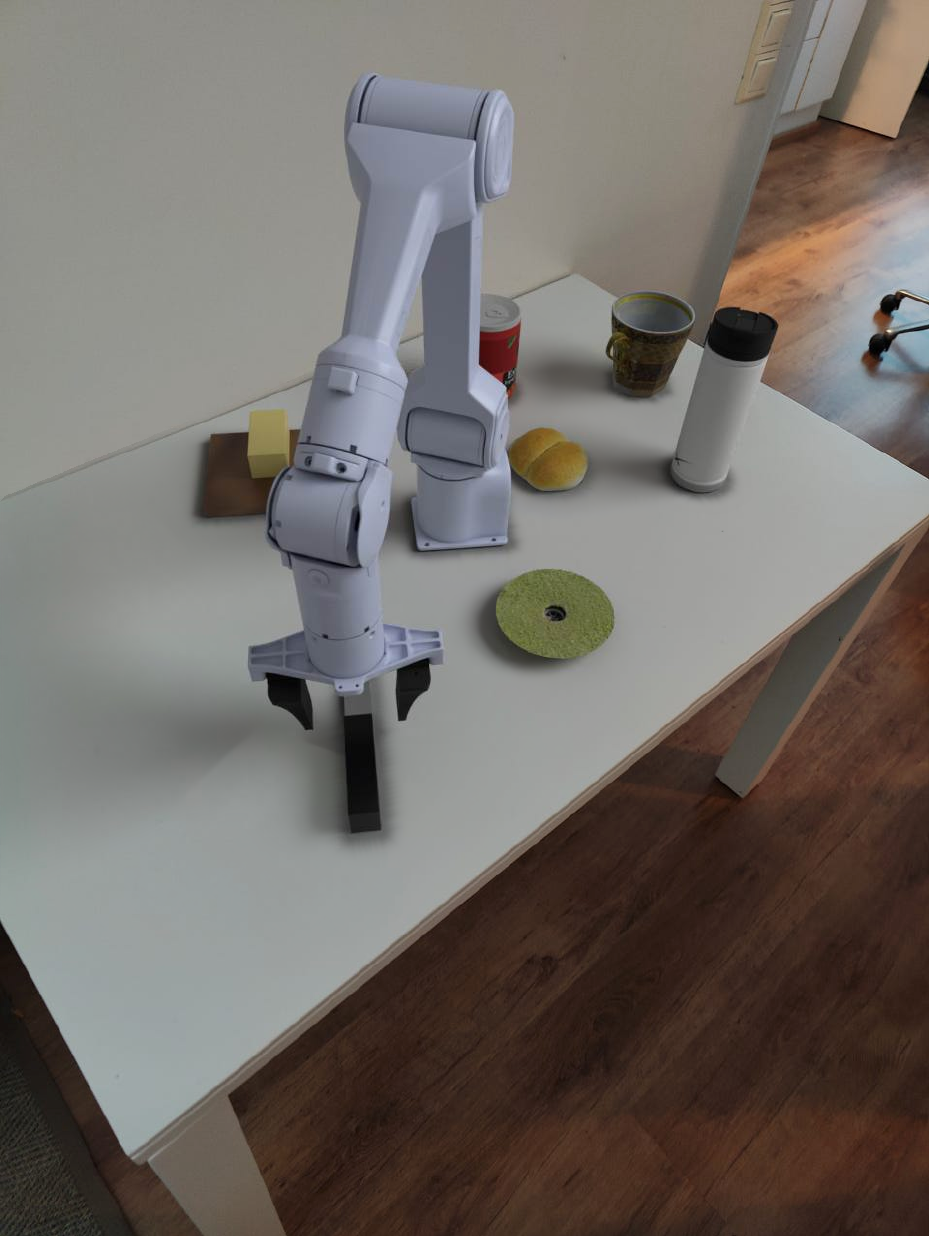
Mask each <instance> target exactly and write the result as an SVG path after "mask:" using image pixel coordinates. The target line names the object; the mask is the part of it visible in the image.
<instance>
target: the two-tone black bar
mask: <svg viewBox="0 0 929 1236" xmlns="http://www.w3.org/2000/svg"><path fill="white" fill-rule="evenodd" d="M371 685H372V684H371V680H368V681H366V682H365V683H364V685H363V686H364V690H363V692H362V693H361V694H359V695H353V696H343V706H344V707H343V708H344V715H343V716H342V718H343V721H342V722H343V741H344V761H345V763H344V764H345V780H346V782H345V783H346V784H345V785H346V802H347V818H348V823H349V824H348V825H349V829H350V833H351V834H359V833H368V832H376V831H382V818H381V803H380V791H379V778H378V765H377V751H376V739H375V726H374V714H373V711H374V710H373V700H372V698H373V697H372V686H371Z"/></svg>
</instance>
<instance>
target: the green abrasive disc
mask: <svg viewBox="0 0 929 1236" xmlns="http://www.w3.org/2000/svg"><path fill="white" fill-rule="evenodd" d="M495 617H496V620H497V622H498V623H497V624H498V625H499V628H500V629H501V631H502V632H503V634H505V637H507V638H508V639H509V641H511V642H512V643H513V644H515V645H516V646H517V647H519V648H521V649H522V650H525V651H527V652H528V653H530V654H533V655H536V656H541V657H546V658H550V659H572V658H577V657H582V656H586V655H588V654H589V653H593V652H594V651H595V650H597V649H598V648H599V647H601V646H602V645H603V644H604V643H605V642H606V641H607V640H608V639H609V637H610V636H611V633H612V632H613V630H614V626H615V617H616V616H615V609H614V607H613V604H612V602H611V600H610V599H609V597H608V596H607V594H606V592H605V591H604V590H603V589H602V588H601V587H600V586H599V585H597V584H596V583H595V582H594V581H592V580H590V579H589V578H586V577H585V576H583V575H581V574H580V575H579V574H578V573H575V572H573V571H567V570H563V569H557V568H556V569H555V568H542V569H536V570H531V571H528V572H524V573H521V574H520V575H518V576H517V577H515V578H512V579H511V580H510V581H509V582H508V583H507V584H505V586H504V587H503V588H502V590H501V591H500V592H499V594H498V596H497V600H496V603H495Z"/></svg>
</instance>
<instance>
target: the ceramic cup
mask: <svg viewBox="0 0 929 1236" xmlns="http://www.w3.org/2000/svg"><path fill="white" fill-rule="evenodd" d="M610 321H611V336H610V337H609V339H608V341H607V345H606V347H605V355H606V357H607V358H608V359H610V360H611V361H612V379H613V385H614V389H616V390H617V391H619V392H621V393H622V394H624V395H626V396H628V397H631V398H652V397H653V396H655V395H657V394H658V393H660V392H662V391H663V390H664V389H665V388H666V386H667V383H668V382H669V379H670V377H671V375H672V372H673V371H674V368H675V366H676V364H677V362H678V360H679V357H680V355H681V353H682V351H683V349H684V347H685V345H686V343H687V342H688V339H689V337H690V335H691V333H692V330H693V326H694V324H695V323H696V312H695V310H694V308H693V307H692V306H691V305H690V303H688V302H687V301H685V300H684V299H681V298H679V297H678V296H675V295H672V294H671V293H670V294H669V293H666V292H661V291H656V290H655V291H654V290H637V291H631V292H628V293H625V294H622V295H620V296H618V297H617V298H616V299H615V300H614V301H613V303H612V305H611V320H610ZM611 351H612V353H611Z"/></svg>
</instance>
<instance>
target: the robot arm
mask: <svg viewBox="0 0 929 1236" xmlns="http://www.w3.org/2000/svg"><path fill="white" fill-rule="evenodd" d="M343 125H344V128H343V129H344V130H343V140H344V150H345V156H346V160H347V169H348V174H349V179H350V183H351V186H352V190H353V192H354V194H355V196H356V199H357V200H358V202H359V203H360V208H359V214H358V219H357V220H358V221H357V225H356V226H357V227H356V233H355V234H356V235H355V240H354V248H353V253H352V254H353V255H352V261H351V267H350V273H349V274H350V276H349V280H348V288H347V296H346V300H345V301H346V302H345V309H344V315H343V322H342V327H341V328H342V330H341V335H340V337H339V338H338V339H337V340H336V341H334V342H333V343H331V344H330V345H328V346H327V347H325V348H324V349H322V350H321V351H320V352H319V353H318V355H317V357H316V361H315V362H316V363H315V367H314V372H313V376H312V380H311V382H310V383H311V384H310V387H309V392H308V397H307V399H306V405H305V410H304V413H303V416H302V417H303V418H302V422H301V425H300V429H301V430H300V434H299V439H298V443H297V444H298V445H297V447H296V452H295V456H294V465H293V466H292V467H290V466H288V467H285V468H284V469H282V470H281V471H280V472H279V474H278V475H277V477H276V478H275V480H274V482H273V485H272V487H271V490H270V493H269V497H268V502H267V509H266V513H265V518H266V519H265V522H266V527H265V532H264V536H265V539H266V542H267V544H268V546H269V547H270V548H271V549H272V550H273V551H276V552H278V553H279V555H280V558H281V564H282V566H283V567H286V568H288V570H291V571H292V576H293V580H294V585H295V590H296V596H297V601H298V602H297V603H298V607H299V612H300V617H301V621H302V627H303V629H302V630H300V631H297V632H294V633H292V634H289V635H287V636H283V637H281V638H278V639H275V640H273V641H270V642H265V643H261V644H255V645H248V647H247V648H248V649H247V650H248V651H247V669H248V673H249V676H250V679H251V682H263V681H264V682H265V681H266V684H267V697H268V699H269V701H270V703H271V705H272V706H274V707H278V708H281V709H283V710H285V711H287V712H288V713H290V714H291V715H292V716H293V717H294V718H295V719H296V720H297V721H298V722H299V724H300V726H302V727H303V729H304V730H305V731H314V707H313V702H312V701H313V700H312V698H311V693H310V691H309V688H308V684H307V681H311V682H317V683H321V684H326V685H330V686H331V685H332V686H333V690H334V693H335V695H336V696H338V697H344V696H353V695H359V694H361V693H362V692H363V690H364V686H363V685H364V683H365V682H366V681H368V680H370V681H371V680H373V679H376V678H378V677H381V676H383V675H386V674H389V673H391V672H393V671H396V677H395V678H396V679H395V701H396V702H395V703H396V715H397V721H398V722H404V721H407V720H408V719H407V718H408V715H409V713H410V711H411V709H412V707H413V704H414V703H415V701H416V700H417V699H419V697H421V695H423V694H424V693H425V692H428V691H429V689H430V686H431V681H432V676H431V667H430V665H431V666H438V665H444V663H445V646H444V641H443V633H442V630H441V629H422V628H415V627H410V626H405V625H399V624H393V623H388V622H384V619H383V604H382V603H383V602H382V590H381V575H380V564H379V563H380V562H379V553H380V552H381V548H382V546H383V542H384V540H385V536H386V532H387V529H388V525H389V518H390V511H391V491H392V484H393V479H394V478H393V474H394V472H393V471H392V469H390V468H388V467H389V463H390V458H391V454H392V451H393V446H394V441H395V437H397V441H398V444H399V445H400V448H401V449H402V451H404V452H407V453H410V463H412V464H414V465H415V464H416V483H417V484H416V494H417V495H416V496H413V497H411V498H410V505H411V511H412V512H411V513H412V520H413V527H414V534H415V535H414V536H415V542H416V548H417V550H418V551H421V552H422V551H436V550H451V549H452V550H453V549H465V548H477V547H478V548H479V547H492V546H493V547H494V546H504V545H507V544H508V541H509V538H508V529H509V528H508V526H509V517H510V506H511V498H512V497H511V496H512V495H511V494H512V476H511V475H512V474H511V464H510V461H509V454H508V452H507V450H506V446H507V441H508V435H509V430H510V421H511V414H510V410H509V400H508V395H507V393H506V387H505V385H503V384H502V383H501V382H500V381H499V380H497V379H496V378H495V377H494V376H492V375H491V374H490V373H488V372H487V371H486V370H485V369H483V368H482V367H481V366H480V365H479V333H480V299H481V294H482V293H481V291H482V264H483V262H482V261H483V259H482V258H483V229H484V227H483V226H484V225H483V224H484V210H485V209H484V208H485V206H486V205H485V204H491V203H494V202H496V201H498V200H501V199H504V198H506V197H507V196H508V192H509V189H510V186H511V180H512V168H513V167H512V165H513V149H514V148H513V147H514V133H515V132H514V130H515V113H514V109H513V106H512V104H511V102H510V100H509V98H508V96H507V95H506V92H505V91H504V90H502V89H498V88H492V89H491V90H486V89H478V88H471V87H466V86H465V87H464V86H457V85H450V84H444V83H443V84H442V83H435V82H428V81H420V80H412V79H406V78H398V77H391V76H382V75H380V74H379V73H377V72H373V71H367V72H364V73H363V74H361V76H360V77H359V79H358V80H357V82H356V83H355V84H354V86H353V87H352V89H351V91H350V93H349V96H348V99H347V103H346V107H345V114H344V123H343ZM420 281H421V302H422V303H421V304H422V332H423V362H424V363H423V365H421V366H418V367H417V368H415V369H414V370H413V371H412V372H411V373H410V374H409V376H407V374H406V371H405V369H404V368H403V366H402V364H401V363H400V361H399V359H398V356H397V352H398V349H399V346H400V343H401V340H402V337H403V334H404V331H405V328H406V324H407V321H408V319H409V315H410V313H411V309H412V306H413V303H414V300H415V296H416V294H417V291H418V287H419V286H420V285H419V284H420Z"/></svg>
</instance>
